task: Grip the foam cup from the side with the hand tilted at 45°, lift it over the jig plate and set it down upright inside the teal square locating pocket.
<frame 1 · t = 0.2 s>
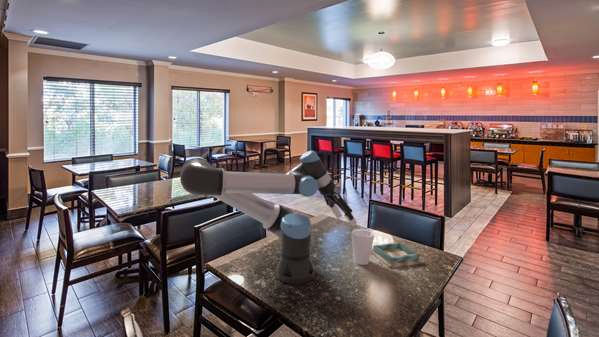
hand: (346, 220, 148), 15 cm above the table, tool tilted 30°, fingers open, 13 cm apart
foam cup: (361, 262, 143), on the table
jig plate: (395, 257, 147), on the table
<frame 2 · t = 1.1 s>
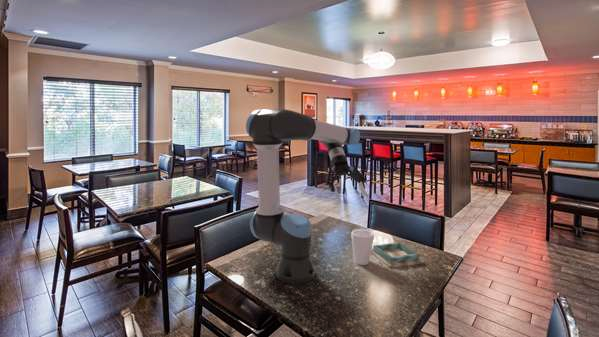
hand: (351, 196, 149), 26 cm above the table, tool tilted 45°, fingers open, 13 cm apart
nothing on the table moved.
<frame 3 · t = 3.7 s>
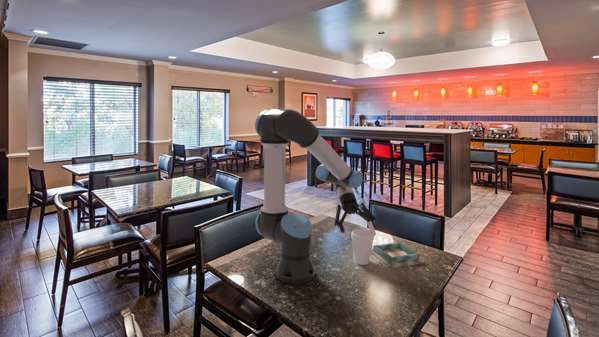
hand: (360, 237, 145), 9 cm above the table, tool tilted 45°, fingers open, 13 cm apart
nothing on the table moved.
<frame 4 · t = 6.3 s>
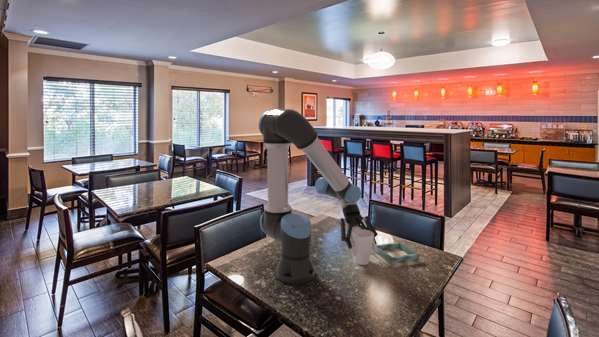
hand: (365, 253, 139), 5 cm above the table, tool tilted 45°, fingers closed on foam cup, 9 cm apart
foam cup: (361, 261, 143), on the table, touching gripper
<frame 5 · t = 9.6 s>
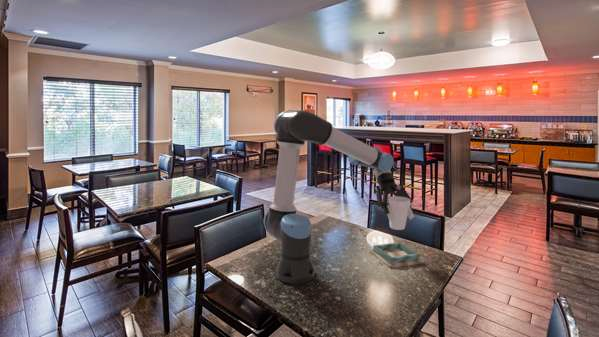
hand: (402, 219, 141), 19 cm above the table, tool tilted 45°, fingers closed on foam cup, 9 cm apart
foam cup: (397, 227, 145), point 14 cm above the table, touching gripper
when the fingers open (7 cm above the table, at t = 13.2 s): foam cup drops 1 cm, resting on jig plate.
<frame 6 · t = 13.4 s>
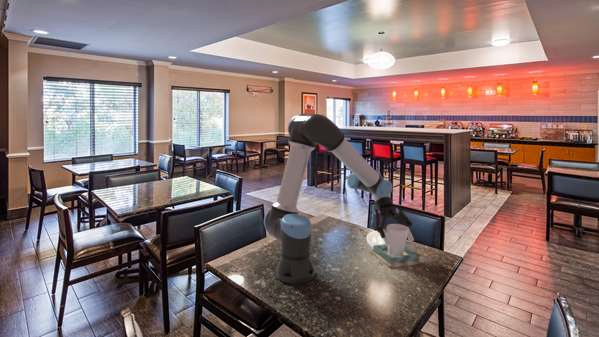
hand: (400, 243, 143), 8 cm above the table, tool tilted 45°, fingers open, 11 cm apart
foam cup: (395, 255, 147), point 1 cm above the table, touching jig plate
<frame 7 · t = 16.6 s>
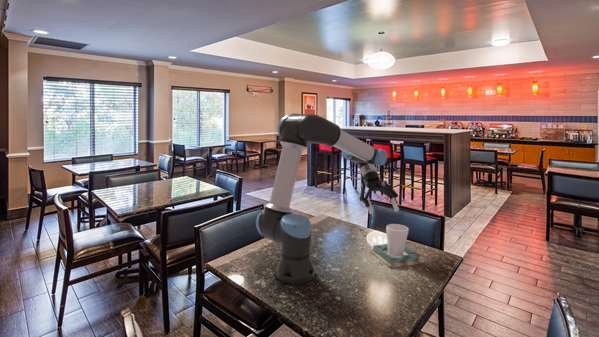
hand: (384, 211, 154), 18 cm above the table, tool tilted 45°, fingers open, 13 cm apart
nothing on the table moved.
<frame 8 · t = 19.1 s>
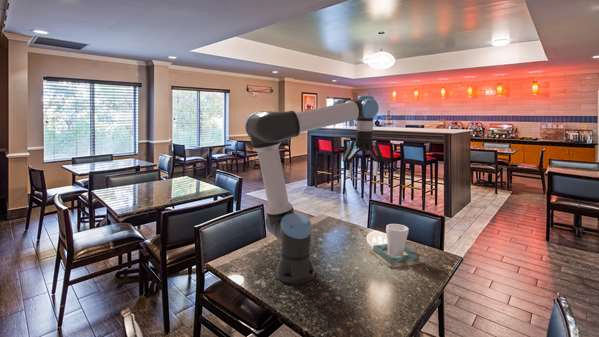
hand: (362, 176, 153), 35 cm above the table, tool pointing down, fingers open, 13 cm apart
nothing on the table moved.
at the end: foam cup 0.1 cm off-centre on the jig plate, point 0.8 cm above the jig plate's base; foam cup tilted 0°; the gripper is holding nothing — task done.
